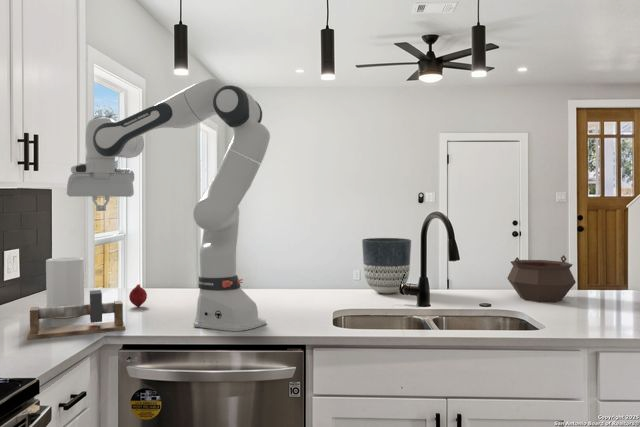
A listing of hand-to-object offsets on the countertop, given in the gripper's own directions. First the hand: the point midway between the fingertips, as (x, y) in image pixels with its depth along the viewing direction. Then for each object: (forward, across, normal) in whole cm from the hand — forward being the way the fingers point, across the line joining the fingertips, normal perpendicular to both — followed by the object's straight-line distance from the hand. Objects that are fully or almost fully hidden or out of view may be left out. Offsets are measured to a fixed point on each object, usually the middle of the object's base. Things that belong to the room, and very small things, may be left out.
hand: (101, 210), depth 178 cm
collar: (+31, +3, +20) cm, 37 cm away
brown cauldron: (+34, -151, +40) cm, 160 cm away
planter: (+34, -106, +4) cm, 112 cm away
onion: (+34, -12, -9) cm, 38 cm away
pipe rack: (+34, +8, +20) cm, 41 cm away
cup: (+34, +11, -5) cm, 36 cm away
